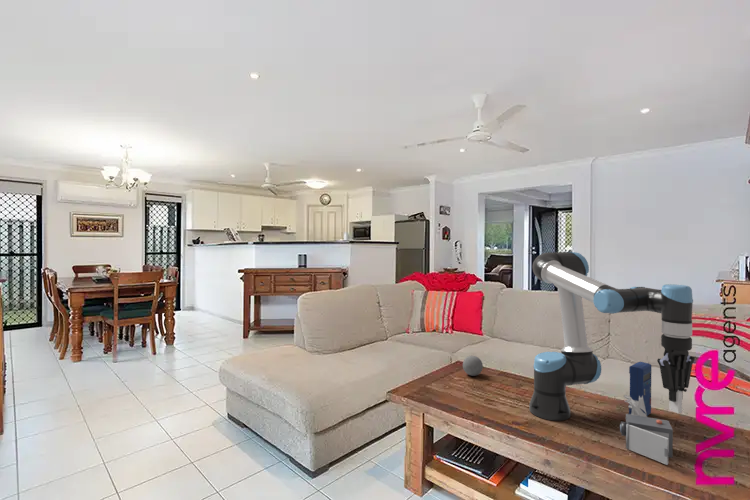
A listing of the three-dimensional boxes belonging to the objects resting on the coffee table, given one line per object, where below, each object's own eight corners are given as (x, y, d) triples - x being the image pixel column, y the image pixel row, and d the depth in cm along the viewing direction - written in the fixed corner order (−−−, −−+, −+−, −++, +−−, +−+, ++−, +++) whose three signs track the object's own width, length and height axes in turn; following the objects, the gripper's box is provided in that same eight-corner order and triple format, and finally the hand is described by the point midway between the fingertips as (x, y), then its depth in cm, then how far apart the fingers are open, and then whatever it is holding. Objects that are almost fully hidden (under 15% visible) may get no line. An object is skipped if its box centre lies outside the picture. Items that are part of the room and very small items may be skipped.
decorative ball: (463, 378, 199) (463, 358, 199) (462, 371, 209) (462, 352, 209) (483, 379, 198) (483, 359, 197) (481, 372, 208) (481, 353, 207)
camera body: (621, 447, 132) (621, 418, 132) (619, 438, 139) (619, 410, 138) (672, 457, 126) (672, 427, 126) (668, 447, 132) (668, 418, 132)
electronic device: (643, 420, 151) (643, 369, 151) (628, 416, 155) (628, 365, 155) (652, 414, 157) (652, 364, 156) (637, 409, 161) (637, 360, 161)
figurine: (629, 417, 154) (629, 387, 154) (652, 425, 148) (652, 393, 148) (617, 425, 148) (617, 393, 147) (640, 433, 142) (640, 400, 141)
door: (624, 448, 131) (624, 424, 130) (627, 447, 132) (627, 423, 131) (666, 466, 120) (666, 440, 120) (669, 464, 121) (669, 438, 121)
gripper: (679, 330, 127) (678, 403, 128) (648, 334, 123) (648, 409, 124) (704, 336, 120) (703, 413, 121) (673, 340, 116) (672, 419, 117)
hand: (675, 411), depth 122 cm, fingers closed
